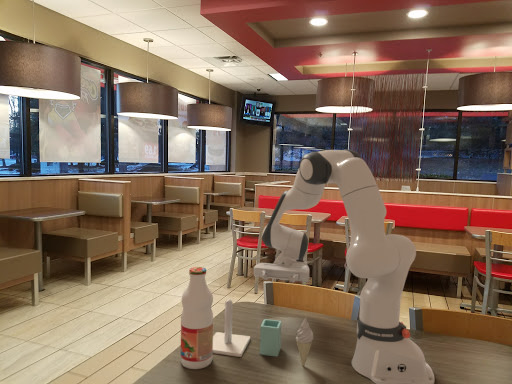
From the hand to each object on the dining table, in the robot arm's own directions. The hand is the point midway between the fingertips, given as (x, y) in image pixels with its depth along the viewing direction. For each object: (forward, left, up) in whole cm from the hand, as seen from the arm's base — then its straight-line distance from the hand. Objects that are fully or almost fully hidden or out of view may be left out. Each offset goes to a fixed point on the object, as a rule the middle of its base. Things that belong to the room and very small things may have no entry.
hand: (278, 278), depth 129 cm
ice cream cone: (-11, +18, -20) cm, 29 cm away
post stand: (+14, +12, -20) cm, 27 cm away
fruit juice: (+20, +24, -20) cm, 37 cm away
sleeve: (0, +12, -20) cm, 23 cm away
